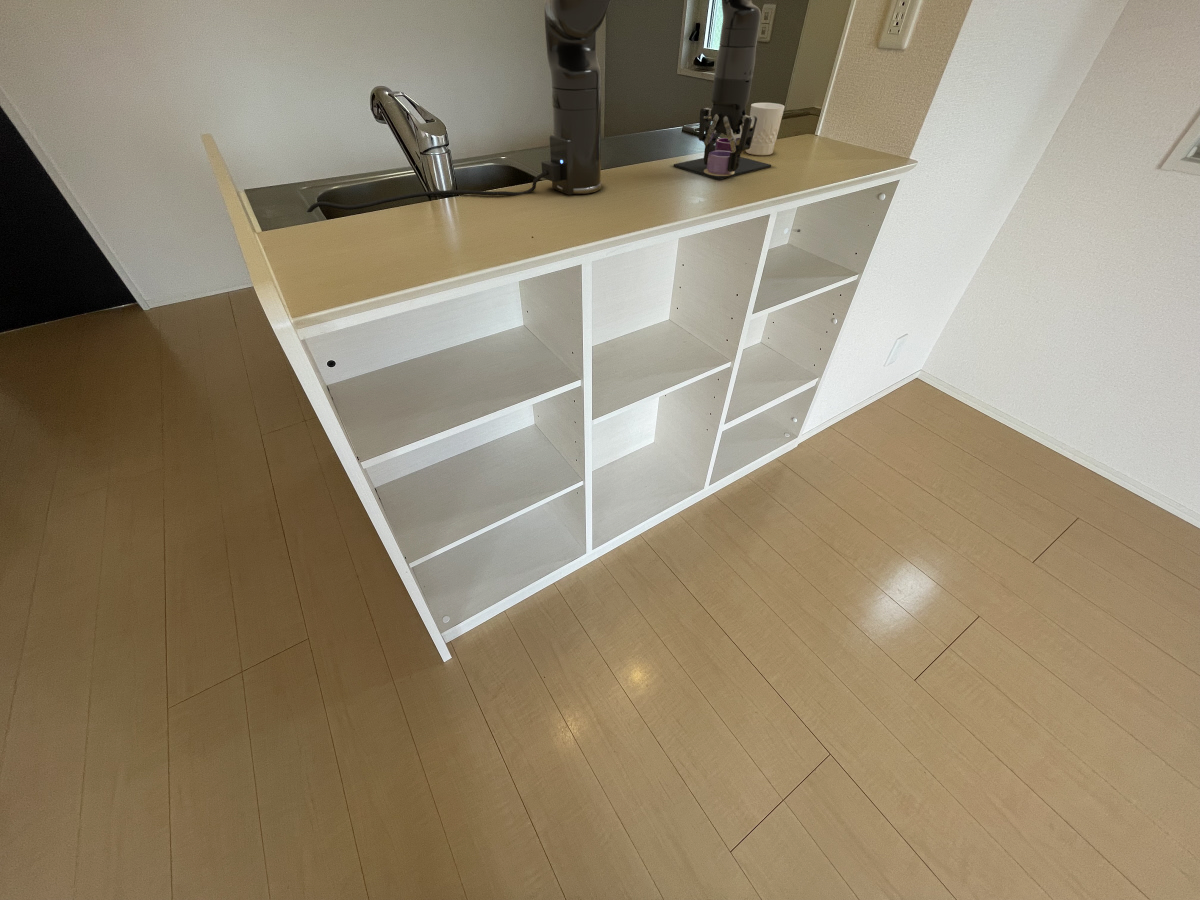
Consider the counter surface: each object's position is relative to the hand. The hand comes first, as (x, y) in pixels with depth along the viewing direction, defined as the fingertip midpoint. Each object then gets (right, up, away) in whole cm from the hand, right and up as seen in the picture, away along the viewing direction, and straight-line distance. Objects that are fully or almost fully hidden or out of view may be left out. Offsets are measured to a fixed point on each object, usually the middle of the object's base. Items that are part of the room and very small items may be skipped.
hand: (720, 167), depth 112 cm
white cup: (+14, +13, +16) cm, 25 cm away
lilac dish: (0, -1, +1) cm, 1 cm away
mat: (+2, +3, +6) cm, 7 cm away
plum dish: (+4, +8, +10) cm, 14 cm away
